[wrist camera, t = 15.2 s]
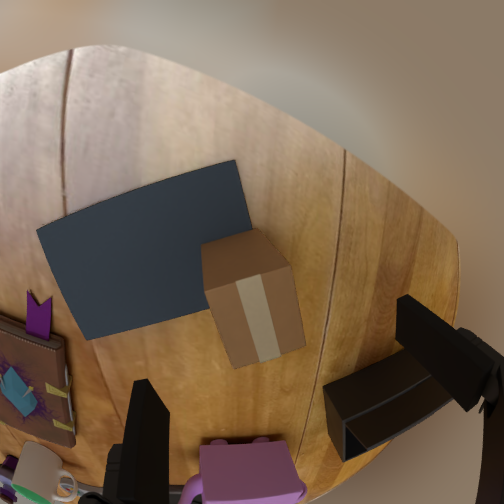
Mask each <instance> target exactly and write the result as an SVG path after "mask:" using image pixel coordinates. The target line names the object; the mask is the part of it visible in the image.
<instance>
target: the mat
mask: <svg viewBox="0 0 504 504" xmlns="http://www.w3.org/2000/svg"><path fill="white" fill-rule="evenodd" d="M249 230H253V229H252V225H251V221H250V217H249V213H248V210H247V206H246V202H245V198H244V194H243V190H242V186H241V182H240V178H239V174H238V170H237V166H236V162H235V160H231V161H227V162H223V163H219V164H216V165H212V166H209V167H205V168H201V169H198V170H194V171H191V172H188V173H184V174H181V175H178V176H175V177H171V178H168V179H165V180H162V181H159V182H156V183H153V184H150V185H147V186H144V187H141V188H138V189H135V190H132V191H130V192H127V193H124V194H121V195H118V196H116V197H113V198H110V199H108V200H105V201H103V202H100V203H97V204H95V205H92V206H90V207H87V208H85V209H82V210H80V211H77V212H75V213H73V214H70V215H68V216H66V217H63V218H61V219H59V220H56V221H54V222H52V223H50V224H48V225H45V226H43V227H41V228H39V229H37V230H36V231H37V234H38V237H39V240H40V243H41V245H42V248H43V251H44V253H45V256H46V258H47V261H48V263H49V266H50V268H51V270H52V273H53V275H54V277H55V279H56V282H57V284H58V286H59V288H60V290H61V293H62V295H63V297H64V299H65V301H66V303H67V305H68V307H69V309H70V311H71V313H72V315H73V317H74V319H75V321H76V322H77V324H78V326H79V328H80V330H81V332H82V333H83V335H84V337H85V339H86V340H91V339H95V338H99V337H104V336H108V335H112V334H116V333H120V332H124V331H128V330H132V329H136V328H140V327H143V326H147V325H151V324H155V323H159V322H162V321H166V320H170V319H173V318H177V317H181V316H184V315H188V314H192V313H195V312H199V311H202V310H206V309H209V308H210V307H209V304H208V301H207V299H206V296H205V293H204V284H203V272H202V258H201V244H205V243H208V242H211V241H215V240H218V239H222V238H225V237H228V236H232V235H235V234H239V233H242V232H246V231H249Z"/></svg>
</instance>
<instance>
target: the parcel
mask: <svg viewBox="0 0 504 504" xmlns="http://www.w3.org/2000/svg"><path fill="white" fill-rule="evenodd" d="M201 258H202V272H203V284H204V293H205V296H206V299H207V301H208V304H209V307H210V310H211V313H212V315H213V318H214V321H215V323H216V326H217V329H218V331H219V334H220V337H221V339H222V342H223V345H224V347H225V350H226V352H227V355H228V357H229V360H230V362H231V365H232V367H233V369H237V368H240V367H243V366H247V365H250V364H254V363H257V362H260V363H263V362H266V361H269V360H272V359H275V358H278V357H281V355H282V354H285V353H288V352H291V351H294V350H296V349H299V348H302V347H305V346H306V342H305V336H304V331H303V325H302V320H301V314H300V309H299V304H298V298H297V293H296V288H295V283H294V278H293V273H292V268H291V265H290V264H289V263H288V262H287V260H286V259H285V258H284V257H283V256H282V255H281V254H280V253H279V251H278V250H277V249H276V248H275V247H274V246H273V245H272V244H271V242H270V241H269V240H268V239H267V238H266V237H265V236H264V235H263V234H262V232H261V231H260V230H259V229H258V228H256V229H253V230H249V231H246V232H242V233H239V234H235V235H232V236H228V237H225V238H222V239H218V240H215V241H211V242H208V243H205V244H201Z"/></svg>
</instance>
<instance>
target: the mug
mask: <svg viewBox="0 0 504 504" xmlns="http://www.w3.org/2000/svg"><path fill="white" fill-rule="evenodd" d="M62 464H63V462H62V460H61V458H60V457H59V456H58V455H57V454H55V453H54V452H53V451H51V450H50V449H48V448H46V447H45V446H43V445H40V444H38V443H35V442H32V441H26V442H25V444H24V446H23V449H22V452H21V455H20V458H19V461H18V464H17V467H16V470H15V473H14V476H13V480H12V483H11V486H12V487H13V488H14V489H15V490H16V491H17V492H18V493H20V494H21V495H23V496H24V497H26V498H28V499H29V500H31V501H33V502H35V503H38V504H54V502H55V500H59V501H63V502H69V501H72V500H73V499H74V498H75V497H76V495H77V492H78V485H77V482H76V479H75V478H74V476H73V475H72V474H71V473H70V472H68V471H66V470H64V469H62ZM63 475H67V476H69V477H71V478H72V480H73V482H74V488H73V491H72V493H71V494H70V495H69V496H67V497H62V496H60V495H58V493H57V487H58V482H59V479H60V478H61V476H63Z"/></svg>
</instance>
